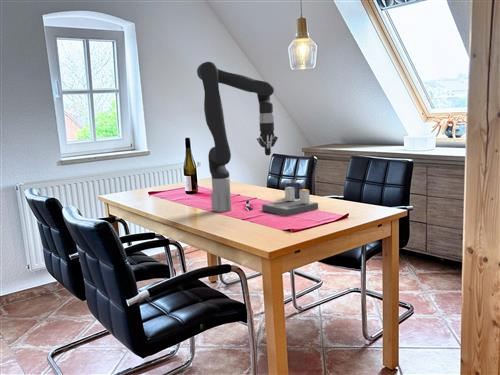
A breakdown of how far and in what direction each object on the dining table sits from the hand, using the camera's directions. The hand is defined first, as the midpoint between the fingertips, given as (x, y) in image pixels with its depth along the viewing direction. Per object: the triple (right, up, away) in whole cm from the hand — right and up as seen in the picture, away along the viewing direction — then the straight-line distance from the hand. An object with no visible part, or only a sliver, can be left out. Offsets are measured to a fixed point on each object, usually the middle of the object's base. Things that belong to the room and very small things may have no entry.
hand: (268, 155), depth 254 cm
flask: (+15, -23, +22) cm, 35 cm away
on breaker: (+11, -23, -1) cm, 26 cm away
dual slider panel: (+11, -28, -8) cm, 31 cm away
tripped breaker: (+18, -25, -10) cm, 32 cm away
